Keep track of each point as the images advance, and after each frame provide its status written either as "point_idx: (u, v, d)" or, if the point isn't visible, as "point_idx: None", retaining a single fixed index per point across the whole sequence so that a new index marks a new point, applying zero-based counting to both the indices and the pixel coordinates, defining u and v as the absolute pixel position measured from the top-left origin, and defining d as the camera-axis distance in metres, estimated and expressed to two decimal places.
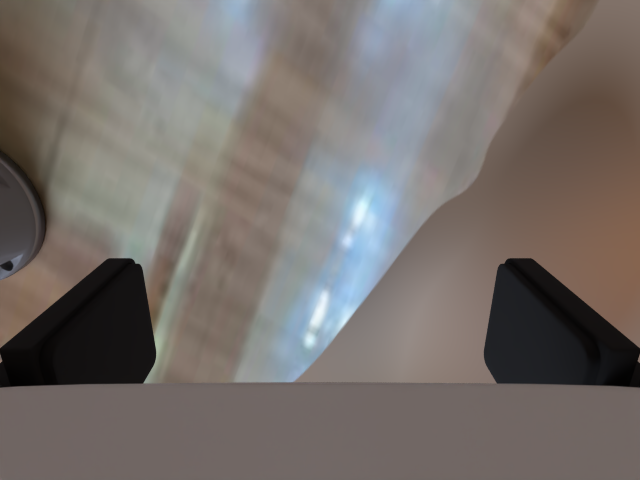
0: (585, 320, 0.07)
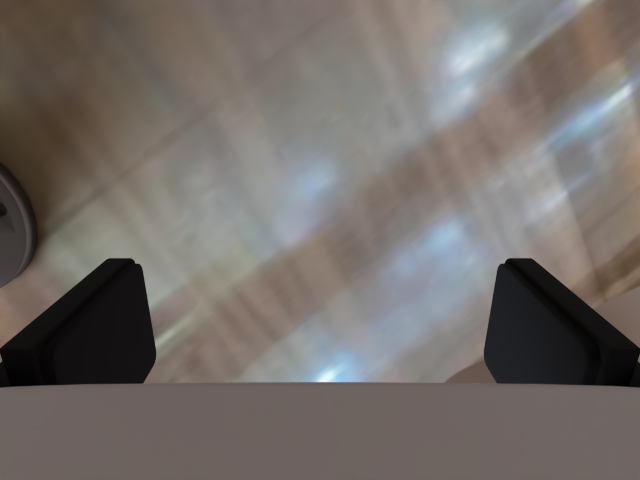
0: (585, 320, 0.07)
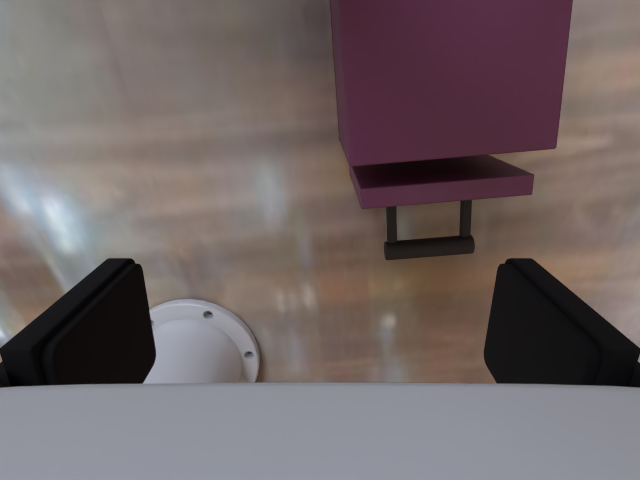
0: (585, 320, 0.07)
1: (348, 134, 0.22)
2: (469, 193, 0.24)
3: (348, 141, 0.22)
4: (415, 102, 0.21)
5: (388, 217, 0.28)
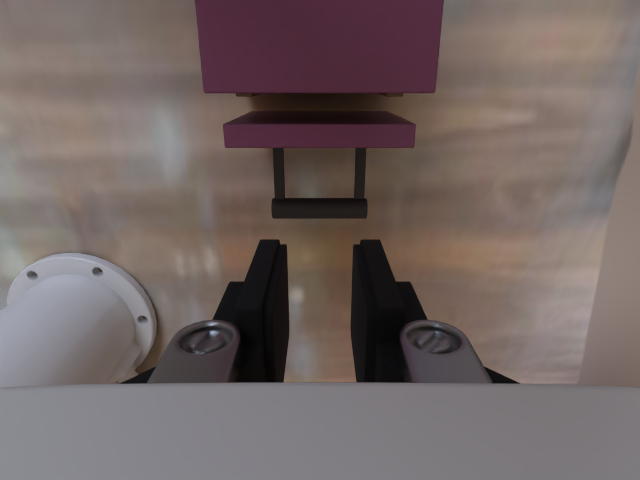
0: (379, 287, 0.09)
1: (201, 53, 0.19)
2: (344, 140, 0.21)
3: (202, 62, 0.19)
4: (276, 22, 0.19)
5: (274, 169, 0.26)
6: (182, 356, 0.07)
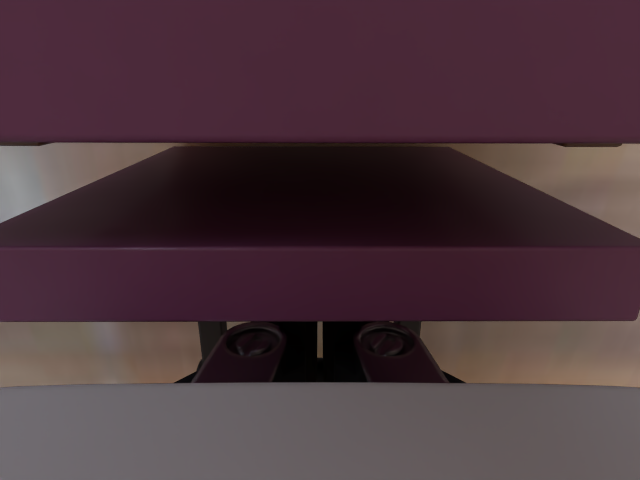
0: None
1: None
2: (395, 299, 0.06)
3: None
4: None
5: None
6: (232, 358, 0.07)
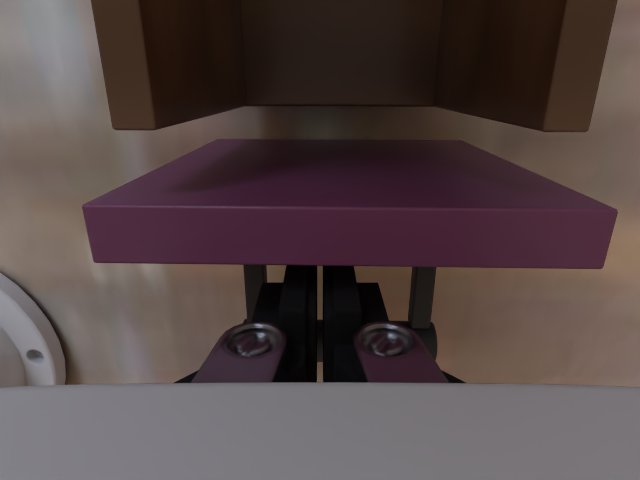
0: (339, 288, 0.09)
1: None
2: (414, 248, 0.08)
3: None
4: None
5: (244, 270, 0.12)
6: (232, 358, 0.07)
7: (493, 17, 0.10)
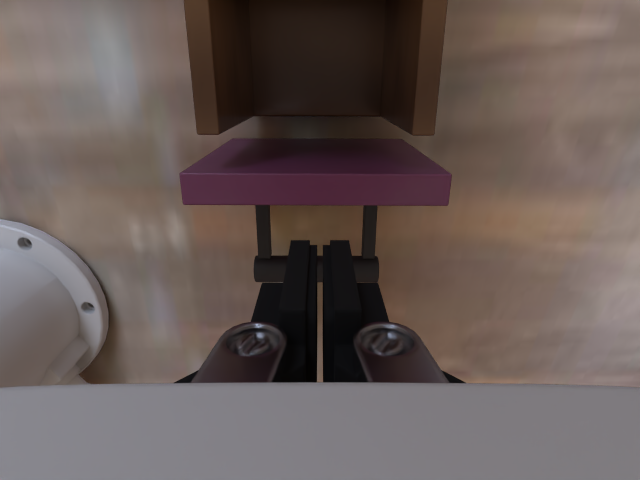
0: (339, 288, 0.09)
1: None
2: (351, 195, 0.15)
3: None
4: None
5: (256, 221, 0.20)
6: (232, 358, 0.07)
7: (399, 70, 0.17)
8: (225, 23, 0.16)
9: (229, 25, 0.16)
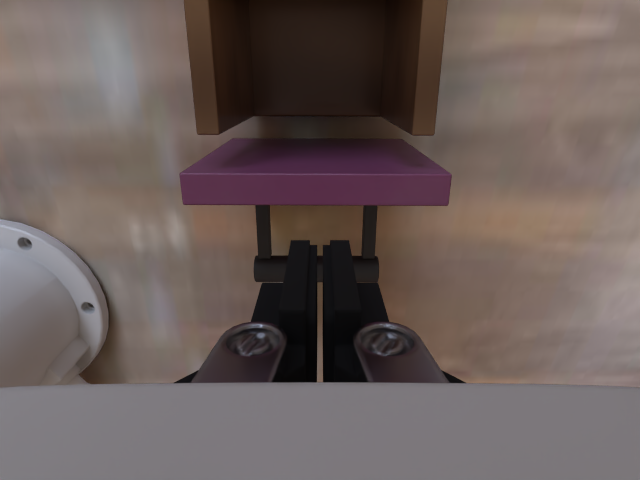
0: (339, 288, 0.09)
1: None
2: (351, 195, 0.15)
3: None
4: None
5: (256, 221, 0.20)
6: (232, 358, 0.07)
7: (399, 70, 0.17)
8: (225, 23, 0.16)
9: (229, 25, 0.16)
